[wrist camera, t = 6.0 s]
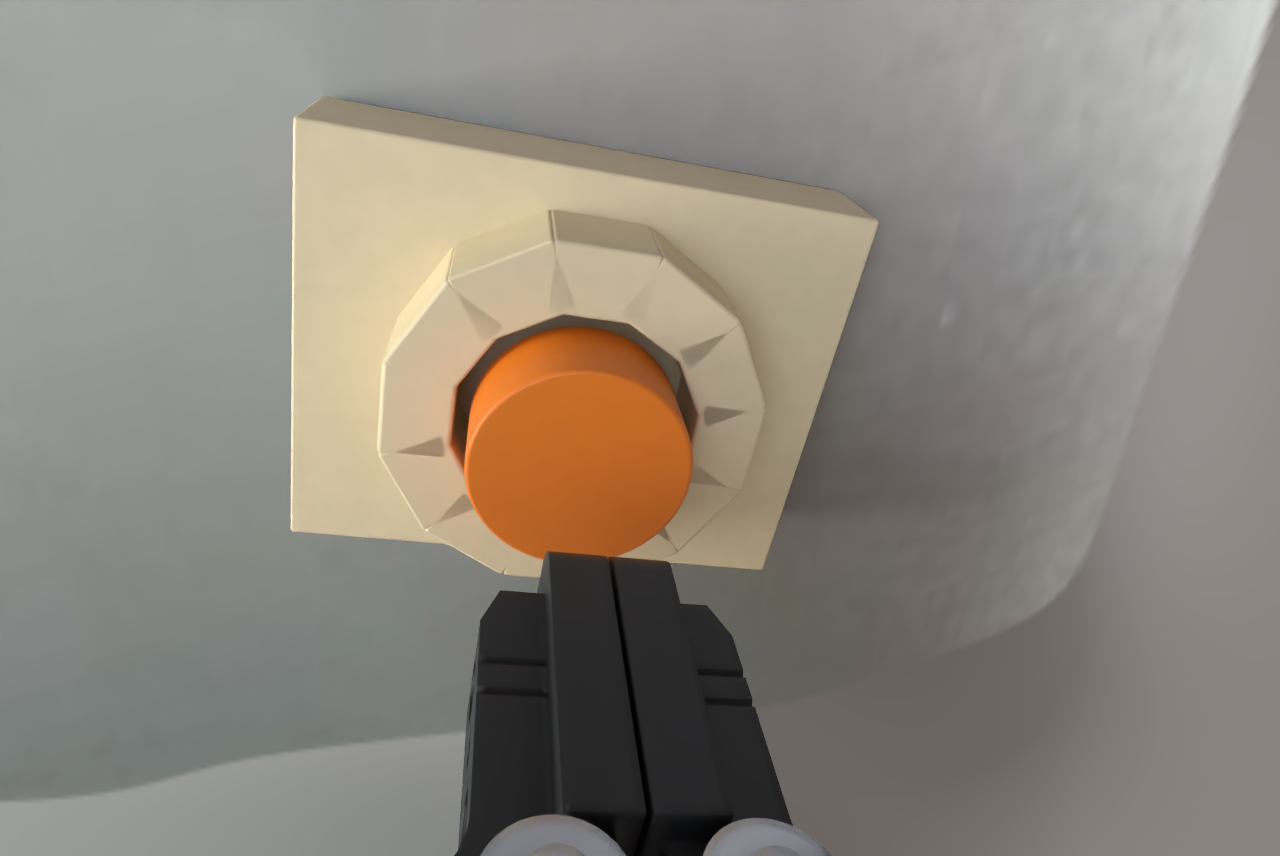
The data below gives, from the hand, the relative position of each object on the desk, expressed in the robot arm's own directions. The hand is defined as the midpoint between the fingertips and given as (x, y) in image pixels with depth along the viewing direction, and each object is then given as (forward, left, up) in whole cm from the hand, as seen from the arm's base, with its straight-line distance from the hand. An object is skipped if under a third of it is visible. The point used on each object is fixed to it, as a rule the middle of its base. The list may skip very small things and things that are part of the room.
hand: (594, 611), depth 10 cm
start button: (0, 0, -5) cm, 5 cm away
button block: (0, 0, -9) cm, 9 cm away
